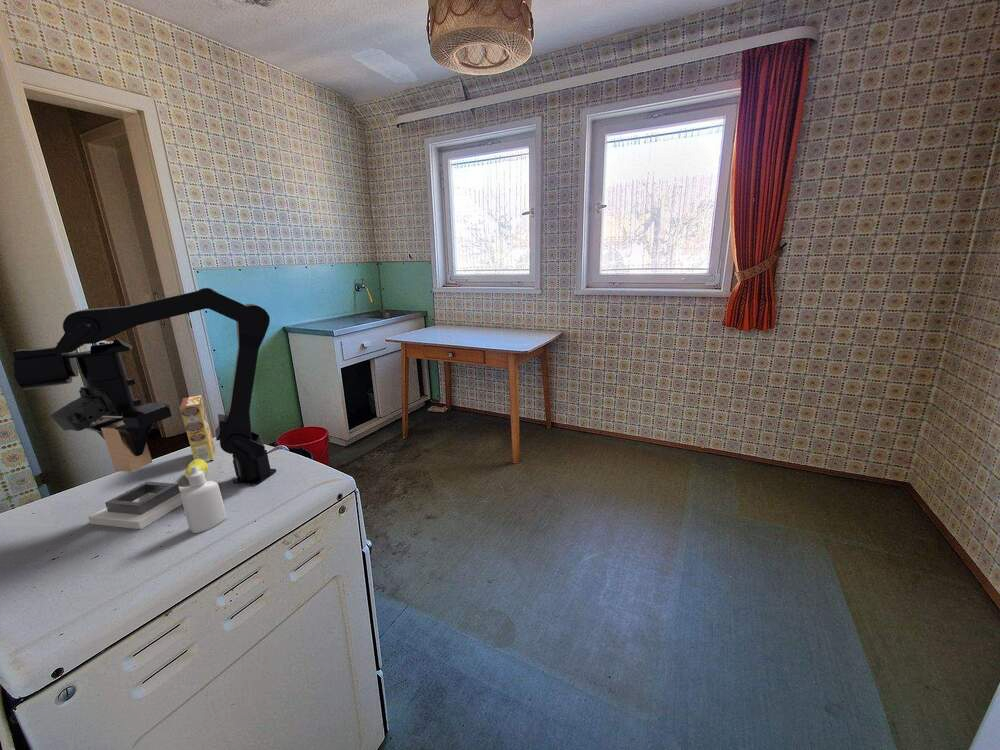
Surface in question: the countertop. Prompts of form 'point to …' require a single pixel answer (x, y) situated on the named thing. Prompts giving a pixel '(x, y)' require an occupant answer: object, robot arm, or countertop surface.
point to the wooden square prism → (123, 450)
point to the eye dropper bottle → (202, 502)
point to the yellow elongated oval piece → (199, 464)
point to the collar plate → (140, 505)
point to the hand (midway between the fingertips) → (130, 454)
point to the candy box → (197, 428)
